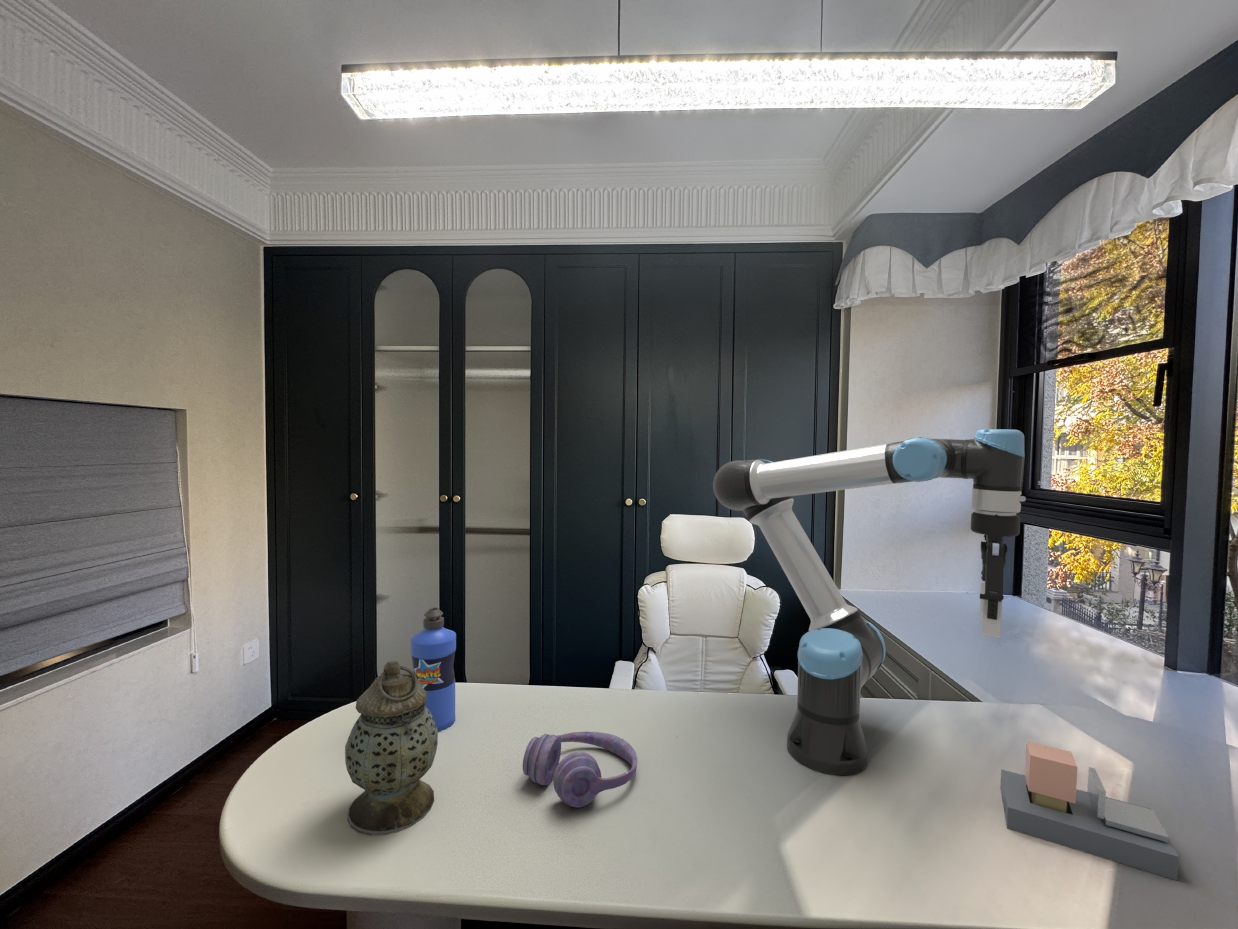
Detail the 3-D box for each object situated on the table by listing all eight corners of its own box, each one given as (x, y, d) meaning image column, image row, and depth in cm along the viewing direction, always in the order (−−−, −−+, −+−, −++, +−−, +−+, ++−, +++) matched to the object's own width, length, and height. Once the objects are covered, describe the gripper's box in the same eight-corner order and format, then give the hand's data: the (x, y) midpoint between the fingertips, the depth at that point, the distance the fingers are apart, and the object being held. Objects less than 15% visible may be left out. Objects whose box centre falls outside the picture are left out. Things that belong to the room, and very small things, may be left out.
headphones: (576, 826, 87) (654, 788, 101) (582, 773, 87) (659, 743, 102) (507, 777, 99) (585, 750, 114) (513, 731, 100) (590, 709, 114)
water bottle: (448, 734, 114) (448, 616, 113) (403, 733, 114) (403, 615, 113) (461, 711, 124) (461, 602, 122) (420, 711, 124) (420, 602, 123)
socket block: (1006, 828, 88) (1007, 807, 88) (1000, 788, 99) (1001, 769, 99) (1177, 880, 78) (1178, 856, 78) (1150, 829, 89) (1151, 808, 88)
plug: (1027, 820, 90) (1030, 755, 89) (1023, 803, 94) (1026, 741, 94) (1073, 834, 87) (1077, 766, 86) (1067, 815, 91) (1071, 751, 91)
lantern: (441, 777, 100) (441, 642, 99) (431, 831, 86) (431, 675, 85) (358, 786, 97) (357, 647, 96) (334, 844, 83) (333, 683, 82)
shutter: (1097, 822, 85) (1099, 789, 84) (1087, 797, 91) (1088, 767, 90) (1168, 842, 80) (1170, 808, 80) (1152, 815, 86) (1154, 783, 86)
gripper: (1027, 522, 89) (1019, 651, 90) (1015, 507, 110) (1008, 611, 111) (972, 518, 93) (965, 641, 94) (970, 504, 114) (965, 604, 115)
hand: (989, 625), depth 102 cm, fingers open, 13 cm apart
